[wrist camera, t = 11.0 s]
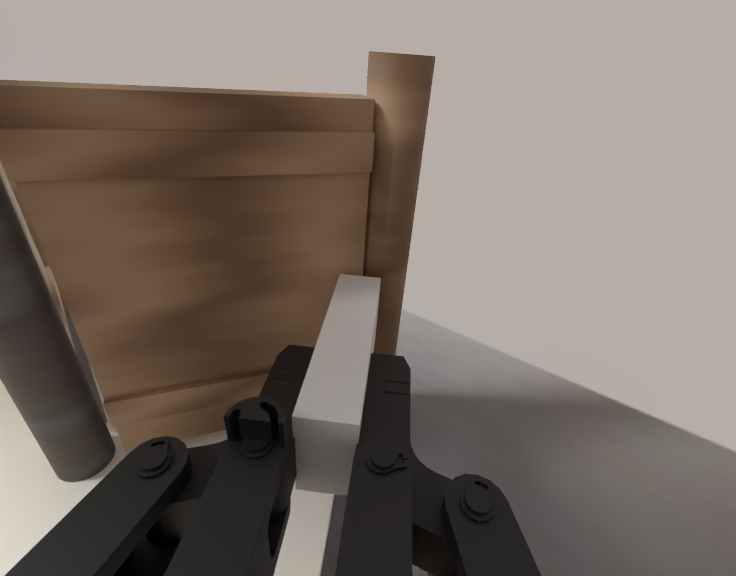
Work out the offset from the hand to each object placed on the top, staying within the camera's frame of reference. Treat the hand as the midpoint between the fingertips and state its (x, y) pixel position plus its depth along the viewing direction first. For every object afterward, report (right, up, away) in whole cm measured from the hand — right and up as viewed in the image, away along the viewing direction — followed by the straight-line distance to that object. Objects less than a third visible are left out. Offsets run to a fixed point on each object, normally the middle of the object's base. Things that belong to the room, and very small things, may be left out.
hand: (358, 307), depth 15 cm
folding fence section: (-4, -5, +3) cm, 7 cm away
